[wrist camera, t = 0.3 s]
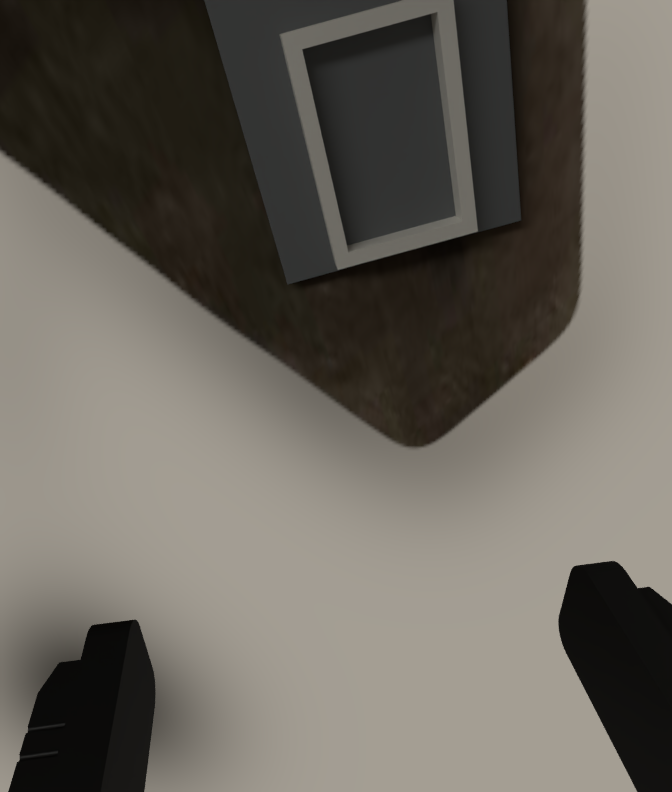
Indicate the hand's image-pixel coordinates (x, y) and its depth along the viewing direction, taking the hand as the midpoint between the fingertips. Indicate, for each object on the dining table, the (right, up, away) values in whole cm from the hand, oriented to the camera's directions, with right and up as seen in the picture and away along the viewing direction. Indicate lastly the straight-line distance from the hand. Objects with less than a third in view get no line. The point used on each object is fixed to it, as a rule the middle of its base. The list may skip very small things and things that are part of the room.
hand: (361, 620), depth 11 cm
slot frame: (+2, +18, +21) cm, 28 cm away
